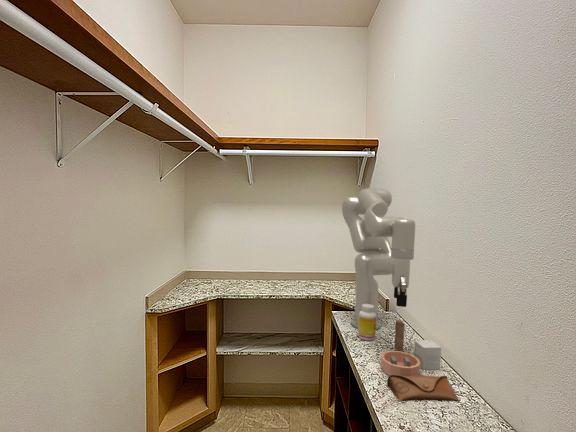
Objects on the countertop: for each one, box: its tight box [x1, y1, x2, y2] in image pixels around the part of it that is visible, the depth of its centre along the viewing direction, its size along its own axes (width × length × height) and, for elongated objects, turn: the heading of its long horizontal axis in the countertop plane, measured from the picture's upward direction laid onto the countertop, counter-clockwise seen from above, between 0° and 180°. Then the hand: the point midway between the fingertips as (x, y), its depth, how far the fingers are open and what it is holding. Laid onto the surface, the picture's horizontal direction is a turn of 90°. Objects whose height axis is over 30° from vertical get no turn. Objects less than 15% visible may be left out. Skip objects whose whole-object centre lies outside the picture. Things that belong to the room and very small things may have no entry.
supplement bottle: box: [357, 304, 377, 341], centre depth 131 cm, size 7×7×13 cm
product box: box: [413, 339, 442, 371], centre depth 109 cm, size 6×6×7 cm
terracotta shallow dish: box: [380, 350, 422, 376], centre depth 106 cm, size 12×12×4 cm
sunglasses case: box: [386, 375, 461, 402], centre depth 93 cm, size 18×7×7 cm, turn 94°
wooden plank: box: [394, 319, 405, 352], centre depth 121 cm, size 4×2×10 cm, turn 177°
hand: (399, 302), depth 117 cm, fingers open, 9 cm apart
